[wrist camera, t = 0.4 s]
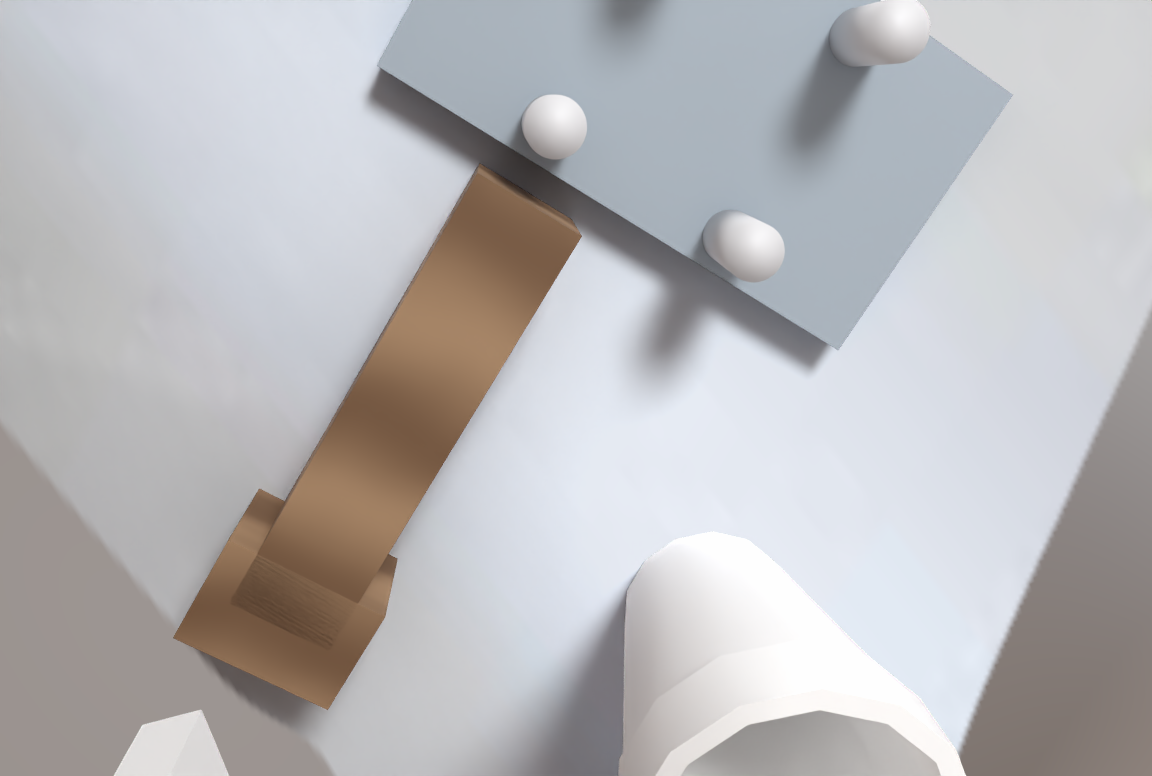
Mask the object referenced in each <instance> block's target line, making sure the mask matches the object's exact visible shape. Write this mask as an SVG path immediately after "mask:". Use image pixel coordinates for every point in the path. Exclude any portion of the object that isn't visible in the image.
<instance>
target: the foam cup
mask: <svg viewBox="0 0 1152 776" xmlns="http://www.w3.org/2000/svg"><path fill="white" fill-rule="evenodd" d="M618 776H966V775H965V772H964V770H963V767H962V764H961V762H960V759H959V756H958V753H957V751H956V749H955V747H954V746H953V744H952V743H951V742H950V740H949V739H948V737H947V736H946V734H945V733H944V732H943V730H942V729H941V727H940V726H939V724H938V723H937V722H936V720H935V719H934V717H933V716H932V714H931V713H930V712H929V710H928V709H927V707H926V706H925V704H924V703H923V701H922V700H921V699H920V697H918V696H917V695H916V694H915V693H913V692H912V691H911V690H910V689H909V688H907V687H906V686H905V685H904V684H902V683H901V682H900V681H899V680H897V679H896V678H895V677H894V676H892V675H891V674H890V673H889V672H887V671H886V670H885V669H884V668H883V667H881V666H880V665H879V664H878V663H876V662H875V661H874V660H873V659H871V658H870V657H869V656H868V655H867V654H866V653H865V652H864V651H863V650H862V649H861V648H860V647H859V646H858V645H857V644H856V643H855V642H854V641H853V640H852V639H851V638H850V637H849V636H848V635H847V634H846V633H845V632H844V631H843V630H842V629H841V628H840V627H839V626H838V625H837V624H836V623H835V622H834V621H833V620H832V618H831V617H830V616H829V615H828V614H827V613H826V612H825V611H824V610H823V609H822V608H821V607H820V606H819V605H818V604H817V603H816V602H815V601H814V600H813V599H812V598H811V597H810V596H809V595H808V594H807V593H806V592H805V591H804V590H803V589H802V588H801V587H800V586H799V585H798V584H797V583H796V582H795V581H794V580H793V579H792V578H791V577H790V576H789V575H788V574H787V573H786V572H785V571H784V570H783V569H782V568H781V567H780V566H779V565H777V564H776V563H775V562H774V561H773V560H772V559H771V558H770V557H768V556H767V555H766V554H765V553H763V552H762V551H761V550H760V549H758V548H757V547H756V546H755V545H754V544H752V543H751V542H750V541H749V540H747V539H743V538H739V537H734V536H730V535H725V534H721V533H716V532H708V533H703V534H698V535H693V536H688V537H683V538H678V539H675V540H673V541H672V542H670V543H669V544H667V545H666V546H665V547H663V548H662V549H660V550H659V551H657V552H656V553H655V554H653V555H652V556H650V557H649V558H647V559H646V560H645V561H644V563H643V564H642V566H641V568H640V569H639V571H638V573H637V575H636V576H635V578H634V580H633V581H632V583H631V585H630V586H629V588H628V590H627V599H626V615H625V632H624V706H623V754H622V755H621V757H620V759H619V771H618Z"/></svg>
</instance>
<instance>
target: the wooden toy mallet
mask: <svg viewBox="0 0 1152 776" xmlns="http://www.w3.org/2000/svg"><path fill="white" fill-rule="evenodd" d="M581 237H582V236H581V234H580V232H579V231H578V229H577V227H576V226H575V224H574V222H573V221H572V219H571V218H569V217H567V216H566V215H564V214H562V213H561V212H559V211H558V210H556V209H554V208H553V207H551V206H549V205H548V204H546V203H544V202H543V201H541V200H540V199H538V198H536V197H535V196H533V195H531V194H530V193H528V192H526V191H525V190H523V189H522V188H520V187H518V186H517V185H515V184H513V183H512V182H510V181H508V180H507V179H505V178H504V177H502V176H500V175H499V174H497V173H495V172H494V171H492V170H490V169H489V168H487V167H486V166H484V165H482V164H481V163H479V165H478V167H477V168H476V170H475V172H474V174H473V175H472V177H471V179H470V181H469V182H468V184H467V186H466V188H465V189H464V191H463V193H462V194H461V196H460V198H459V200H458V201H457V203H456V205H455V207H454V208H453V210H452V212H451V214H450V215H449V217H448V219H447V221H446V222H445V224H444V226H443V227H442V229H441V231H440V233H439V234H438V236H437V238H436V240H435V241H434V243H433V245H432V247H431V248H430V250H429V252H428V254H427V255H426V257H425V259H424V260H423V262H422V264H421V266H420V267H419V269H418V271H417V273H416V274H415V276H414V278H413V280H412V281H411V283H410V285H409V287H408V288H407V290H406V292H405V293H404V295H403V297H402V299H401V300H400V302H399V304H398V306H397V307H396V309H395V311H394V313H393V314H392V316H391V318H390V319H389V321H388V323H387V325H386V326H385V328H384V330H383V332H382V333H381V335H380V337H379V339H378V340H377V342H376V344H375V346H374V347H373V349H372V351H371V352H370V354H369V356H368V358H367V359H366V361H365V363H364V365H363V366H362V368H361V370H360V372H359V373H358V375H357V377H356V379H355V380H354V382H353V384H352V385H351V387H350V389H349V391H348V392H347V394H346V396H345V398H344V399H343V401H342V403H341V405H340V406H339V408H338V410H337V412H336V413H335V415H334V417H333V418H332V420H331V422H330V424H329V425H328V427H327V429H326V431H325V432H324V434H323V436H322V438H321V439H320V441H319V443H318V445H317V446H316V448H315V450H314V451H313V453H312V455H311V457H310V458H309V460H308V462H307V464H306V465H305V467H304V469H303V471H302V472H301V474H300V476H299V478H298V479H297V481H296V483H295V484H294V486H293V488H292V490H291V491H290V493H289V495H288V497H287V498H286V500H285V501H283V500H281V499H279V498H277V497H275V496H273V495H271V494H269V493H267V492H265V491H263V490H261V489H259V490H258V492H257V493H256V495H255V497H254V498H253V500H252V502H251V503H250V505H249V507H248V508H247V510H246V512H245V513H244V515H243V517H242V518H241V520H240V522H239V523H238V525H237V527H236V528H235V530H234V532H233V533H232V535H231V537H230V538H229V540H228V542H227V544H226V545H225V547H224V549H223V551H222V552H221V554H220V556H219V558H218V559H217V561H216V563H215V565H214V566H213V568H212V570H211V572H210V573H209V575H208V577H207V579H206V581H205V582H204V584H203V586H202V588H201V589H200V591H199V593H198V595H197V596H196V598H195V600H194V602H193V603H192V605H191V607H190V609H189V610H188V612H187V614H186V616H185V618H184V619H183V621H182V623H181V625H180V626H179V628H178V630H177V632H176V633H175V635H174V637H173V638H174V639H177V640H178V641H181V642H183V643H185V644H187V645H189V646H191V647H193V648H196V649H198V650H200V651H202V652H204V653H206V654H209V655H211V656H213V657H215V658H217V659H219V660H221V661H224V662H226V663H228V664H230V665H232V666H234V667H236V668H239V669H241V670H243V671H245V672H247V673H249V674H252V675H254V676H256V677H258V678H260V679H262V680H264V681H267V682H269V683H271V684H273V685H275V686H277V687H279V688H282V689H284V690H286V691H288V692H290V693H292V694H294V695H297V696H299V697H301V698H303V699H305V700H307V701H310V702H312V703H314V704H316V705H318V706H320V707H322V708H325V709H327V710H328V709H329V707H330V705H331V704H332V702H333V701H334V699H335V697H336V696H337V694H338V692H339V691H340V689H341V688H342V686H343V684H344V683H345V681H346V679H347V678H348V676H349V675H350V673H351V671H352V670H353V668H354V667H355V665H356V663H357V662H358V660H359V658H360V657H361V655H362V654H363V652H364V650H365V649H366V647H367V645H368V644H369V642H370V641H371V639H372V637H373V636H374V634H375V633H376V631H377V629H378V628H379V626H380V624H381V623H382V621H383V620H384V618H385V615H386V610H387V606H388V601H389V596H390V592H391V587H392V582H393V578H394V573H395V568H396V564H397V558H395V557H393V556H391V555H389V554H388V553H389V552H390V550H391V549H392V547H393V545H394V544H395V542H396V540H397V539H398V537H399V535H400V534H401V532H402V531H403V529H404V527H405V526H406V524H407V522H408V521H409V519H410V517H411V516H412V514H413V512H414V511H415V509H416V508H417V506H418V504H419V503H420V501H421V499H422V498H423V496H424V494H425V493H426V491H427V489H428V488H429V486H430V485H431V483H432V481H433V480H434V478H435V476H436V475H437V473H438V471H439V470H440V468H441V466H442V465H443V463H444V462H445V460H446V458H447V457H448V455H449V453H450V452H451V450H452V448H453V447H454V445H455V444H456V442H457V440H458V439H459V437H460V435H461V434H462V432H463V430H464V429H465V427H466V425H467V424H468V422H469V421H470V419H471V417H472V416H473V414H474V412H475V411H476V409H477V407H478V406H479V404H480V402H481V401H482V399H483V398H484V396H485V394H486V393H487V391H488V389H489V388H490V386H491V384H492V383H493V381H494V379H495V378H496V376H497V375H498V373H499V371H500V370H501V368H502V366H503V365H504V363H505V361H506V360H507V358H508V357H509V355H510V353H511V352H512V350H513V348H514V347H515V345H516V343H517V342H518V340H519V338H520V337H521V335H522V334H523V332H524V330H525V329H526V327H527V325H528V324H529V322H530V320H531V319H532V317H533V315H534V314H535V312H536V311H537V309H538V307H539V306H540V304H541V302H542V301H543V299H544V297H545V296H546V294H547V292H548V291H549V289H550V288H551V286H552V284H553V283H554V281H555V279H556V278H557V276H558V274H559V273H560V271H561V270H562V268H563V266H564V265H565V263H566V261H567V260H568V258H569V256H570V255H571V253H572V251H573V250H574V248H575V247H576V245H577V243H578V242H579V240H580V238H581Z"/></svg>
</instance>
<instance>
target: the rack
mask: <svg viewBox="0 0 1152 776" xmlns="http://www.w3.org/2000/svg"><path fill="white" fill-rule="evenodd" d="M930 28H931V26H930V19H929V16H928V13H927V11H926V10H925V8H924V7H923V6H922V5H921V4H920V3H919V2H918V1H916V0H884V1H881V0H412V1H411V3H410V5H409V7H408V9H407V11H406V12H405V14H404V16H403V18H402V20H401V22H400V24H399V25H398V27H397V29H396V31H395V33H394V35H393V37H392V38H391V40H390V42H389V44H388V46H387V48H386V50H385V51H384V53H383V55H382V57H381V59H380V61H379V63H378V64H377V66H378V67H380V68H381V69H383V70H385V71H386V72H388V73H390V74H391V75H393V76H394V77H396V78H398V79H399V80H401V81H403V82H404V83H406V84H407V85H409V86H411V87H412V88H414V89H416V90H417V91H419V92H420V93H422V94H424V95H425V96H427V97H428V98H430V99H432V100H433V101H435V102H437V103H438V104H440V105H441V106H443V107H445V108H446V109H448V110H450V111H451V112H453V113H454V114H456V115H458V116H459V117H461V118H462V119H464V120H466V121H467V122H469V123H471V124H472V125H474V126H475V127H477V128H479V129H480V130H482V131H484V132H485V133H487V134H488V135H490V136H492V137H493V138H495V139H497V140H498V141H500V142H501V143H503V144H505V145H506V146H508V147H509V148H511V149H513V150H514V151H516V152H518V153H519V154H521V155H522V156H524V157H526V158H527V159H529V160H531V161H532V162H534V163H535V164H537V165H539V166H540V167H542V168H544V169H545V170H547V171H548V172H550V173H552V174H553V175H555V176H556V177H558V178H560V179H561V180H563V181H565V182H566V183H568V184H569V185H571V186H573V187H574V188H576V189H578V190H579V191H581V192H582V193H584V194H586V195H587V196H589V197H590V198H592V199H594V200H595V201H597V202H599V203H600V204H602V205H603V206H605V207H607V208H608V209H610V210H612V211H613V212H615V213H616V214H618V215H620V216H621V217H623V218H625V219H626V220H628V221H629V222H631V223H633V224H634V225H636V226H637V227H639V228H641V229H642V230H644V231H646V232H647V233H649V234H650V235H652V236H654V237H655V238H657V239H659V240H660V241H662V242H663V243H665V244H667V245H668V246H670V247H672V248H673V249H675V250H676V251H678V252H680V253H681V254H683V255H684V256H686V257H688V258H689V259H691V260H693V261H694V262H696V263H697V264H699V265H701V266H702V267H704V268H706V269H707V270H709V271H710V272H712V273H714V274H715V275H717V276H718V277H720V278H722V279H723V280H725V281H727V282H728V283H730V284H731V285H733V286H735V287H736V288H738V289H740V290H741V291H743V292H744V293H746V294H748V295H749V296H751V297H753V298H754V299H756V300H757V301H759V302H761V303H762V304H764V305H765V306H767V307H769V308H770V309H772V310H774V311H775V312H777V313H778V314H780V315H782V316H783V317H785V318H787V319H788V320H790V321H791V322H793V323H795V324H796V325H798V326H799V327H801V328H803V329H804V330H806V331H808V332H809V333H811V334H812V335H814V336H816V337H817V338H819V339H821V340H822V341H824V342H825V343H827V344H829V345H830V346H832V347H834V348H835V349H837V350H839V349H840V347H841V346H842V344H843V343H844V341H845V340H846V338H847V337H848V335H849V334H850V332H851V331H852V330H853V328H854V327H855V325H856V324H857V322H858V321H859V319H860V318H861V316H862V315H863V313H864V312H865V311H866V309H867V308H868V306H869V305H870V303H871V302H872V300H873V299H874V297H875V296H876V294H877V293H878V292H879V290H880V289H881V287H882V286H883V284H884V283H885V281H886V280H887V278H888V277H889V275H890V274H891V273H892V271H893V270H894V268H895V267H896V265H897V264H898V262H899V261H900V259H901V258H902V256H903V255H904V254H905V252H906V251H907V249H908V248H909V246H910V245H911V243H912V242H913V240H914V239H915V237H916V236H917V235H918V233H919V232H920V230H921V229H922V227H923V226H924V224H925V223H926V221H927V220H928V218H929V217H930V216H931V214H932V213H933V211H934V210H935V208H936V207H937V205H938V204H939V202H940V201H941V199H942V198H943V197H944V195H945V194H946V192H947V191H948V189H949V188H950V186H951V185H952V183H953V182H954V181H955V179H956V178H957V176H958V175H959V173H960V172H961V170H962V169H963V167H964V166H965V164H966V163H967V162H968V160H969V159H970V157H971V156H972V154H973V153H974V151H975V150H976V148H977V147H978V145H979V144H980V143H981V141H982V140H983V138H984V137H985V135H986V134H987V132H988V131H989V129H990V128H991V126H992V125H993V124H994V122H995V121H996V119H997V118H998V116H999V115H1000V113H1001V112H1002V110H1003V109H1004V107H1005V106H1006V105H1007V103H1008V102H1009V100H1010V99H1011V97H1012V96H1013V95H1012V94H1011V93H1010V92H1008V91H1007V90H1005V89H1004V88H1003V87H1001V86H1000V85H998V84H997V83H996V82H994V81H993V80H991V79H990V78H989V77H987V76H986V75H984V74H983V73H982V72H980V71H979V70H977V69H976V68H975V67H973V66H972V65H970V64H969V63H968V62H966V61H965V60H963V59H962V58H961V57H959V56H958V55H956V54H955V53H954V52H952V51H951V50H949V49H948V48H947V47H945V46H944V45H942V44H941V43H940V42H938V41H937V40H935V39H934V38H933V37H931V36H930Z"/></svg>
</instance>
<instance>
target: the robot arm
mask: <svg viewBox="0 0 1152 776" xmlns="http://www.w3.org/2000/svg"><path fill="white" fill-rule="evenodd" d="M114 776H229V775H228V772H227V770H226V767H225V765H224V762H223V760H222V758H221V755H220V753H219V751H218V748H217V746H216V743H215V741H214V738H213V736H212V734H211V731H210V729H209V726H208V724H207V722H206V719H205V717H204V715H203V712H202V710H198V711H194V712H190V713H186V714H183V715H178V716H175V717H171V718H167V719H163V720H159V721H155V722H152V723H148V724H144V725H142V726H141V728H140V730H139V732H138V734H137V735H136V737H135V739H134V741H133V742H132V744H131V746H130V748H129V750H128V751H127V753H126V755H125V757H124V758H123V760H122V762H121V764H120V765H119V767H118V769H117V771H116V773H115V774H114Z"/></svg>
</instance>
